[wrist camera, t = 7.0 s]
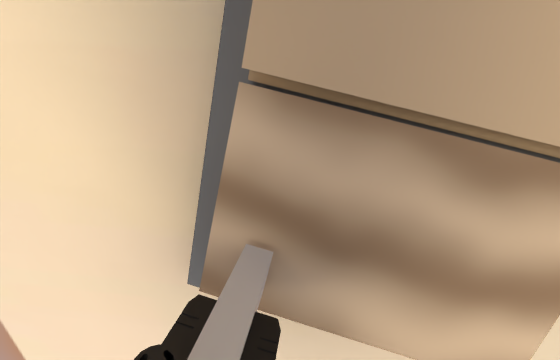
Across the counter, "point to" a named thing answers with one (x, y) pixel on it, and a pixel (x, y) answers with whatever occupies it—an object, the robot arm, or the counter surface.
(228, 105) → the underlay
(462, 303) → the plank
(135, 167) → the counter surface
